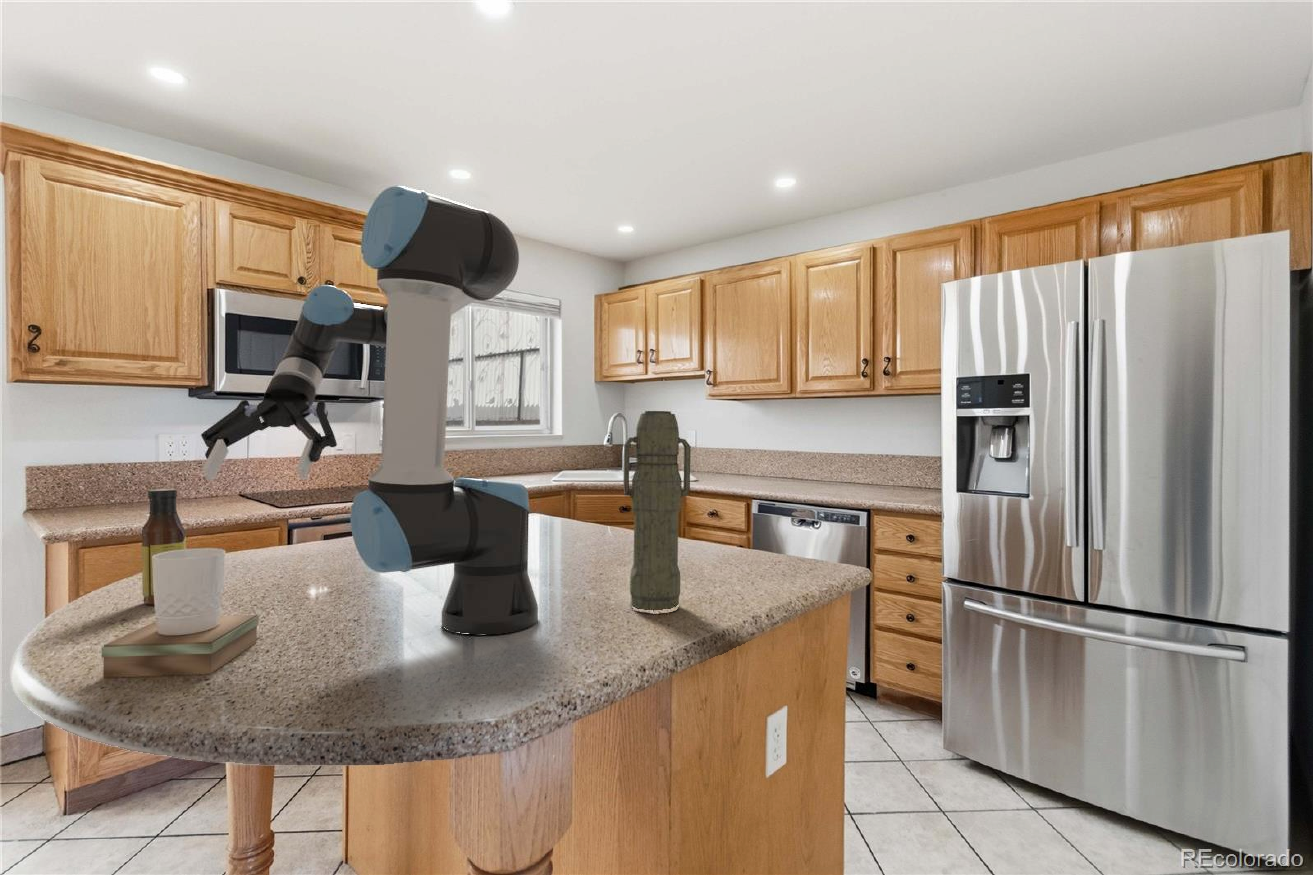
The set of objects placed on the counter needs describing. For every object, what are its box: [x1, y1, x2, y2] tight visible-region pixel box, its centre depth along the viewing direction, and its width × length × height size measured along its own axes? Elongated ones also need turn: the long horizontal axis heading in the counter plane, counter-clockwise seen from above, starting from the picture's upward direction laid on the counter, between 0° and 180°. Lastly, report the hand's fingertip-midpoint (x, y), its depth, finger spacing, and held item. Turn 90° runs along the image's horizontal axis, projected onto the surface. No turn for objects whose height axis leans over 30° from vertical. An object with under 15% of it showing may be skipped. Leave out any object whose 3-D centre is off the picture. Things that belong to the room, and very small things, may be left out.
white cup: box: [152, 547, 227, 636], centre depth 84 cm, size 8×8×10 cm
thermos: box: [623, 410, 692, 611], centre depth 113 cm, size 9×12×35 cm
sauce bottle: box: [141, 488, 187, 606], centre depth 112 cm, size 7×6×20 cm
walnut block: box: [101, 614, 260, 679], centre depth 84 cm, size 12×12×4 cm
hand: (255, 474), depth 100 cm, fingers open, 13 cm apart
